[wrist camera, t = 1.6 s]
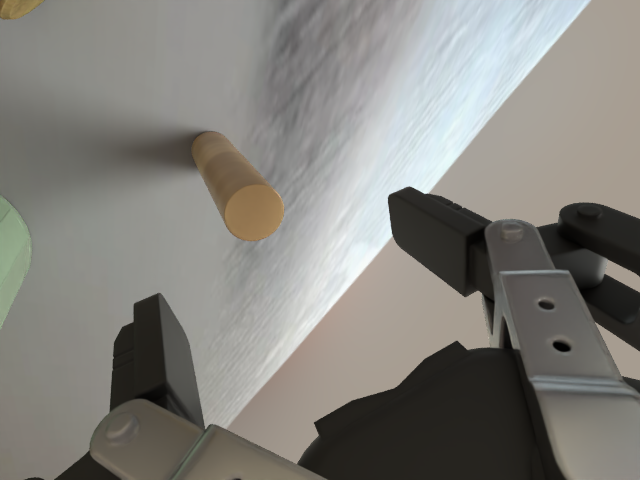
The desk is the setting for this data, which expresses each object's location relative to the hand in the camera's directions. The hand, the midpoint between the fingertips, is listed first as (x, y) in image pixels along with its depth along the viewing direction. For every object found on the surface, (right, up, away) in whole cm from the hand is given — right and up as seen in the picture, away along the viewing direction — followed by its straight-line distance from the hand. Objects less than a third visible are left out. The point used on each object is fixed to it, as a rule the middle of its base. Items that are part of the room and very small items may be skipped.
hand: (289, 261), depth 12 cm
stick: (-6, +6, +11) cm, 14 cm away
